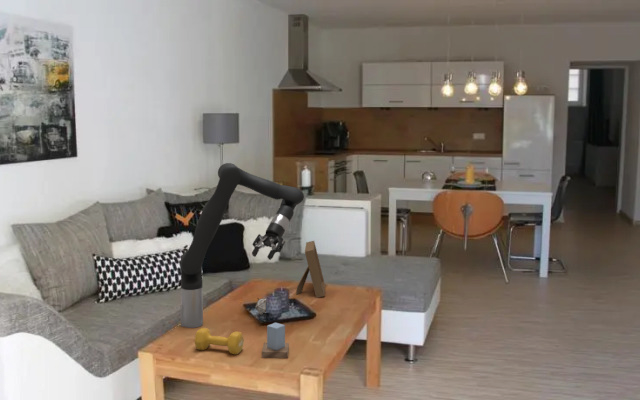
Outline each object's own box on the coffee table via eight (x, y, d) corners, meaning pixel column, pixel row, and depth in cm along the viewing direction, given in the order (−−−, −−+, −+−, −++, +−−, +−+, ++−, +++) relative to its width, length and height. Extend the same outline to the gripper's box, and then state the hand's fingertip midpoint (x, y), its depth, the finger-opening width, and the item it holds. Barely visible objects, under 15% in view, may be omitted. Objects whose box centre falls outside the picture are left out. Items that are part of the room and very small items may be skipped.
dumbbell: (192, 351, 266) (192, 332, 264) (202, 344, 274) (202, 324, 273) (236, 357, 260) (236, 337, 259) (245, 349, 269) (245, 329, 268)
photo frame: (324, 285, 360) (324, 240, 357) (324, 297, 339) (324, 249, 335) (297, 285, 361) (297, 240, 357) (295, 297, 339) (294, 249, 335)
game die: (266, 323, 311) (269, 310, 304) (249, 315, 312) (252, 303, 305) (274, 309, 317) (277, 297, 310) (258, 302, 318) (261, 289, 311)
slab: (261, 359, 260) (261, 351, 260) (264, 349, 270) (264, 342, 270) (287, 359, 260) (287, 352, 260) (288, 350, 270) (288, 342, 270)
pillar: (267, 347, 264) (267, 325, 263) (275, 344, 268) (275, 322, 267) (276, 350, 261) (276, 328, 260) (284, 346, 265) (284, 325, 264)
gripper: (261, 220, 295) (244, 249, 287) (287, 223, 287) (270, 254, 279) (268, 229, 300) (252, 259, 292) (294, 233, 292) (278, 264, 284)
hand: (261, 257), depth 286 cm, fingers open, 8 cm apart
